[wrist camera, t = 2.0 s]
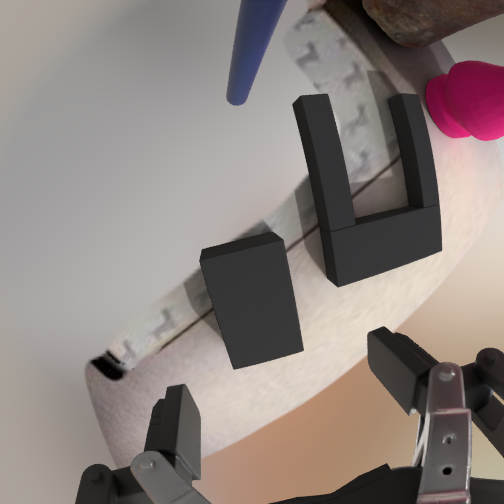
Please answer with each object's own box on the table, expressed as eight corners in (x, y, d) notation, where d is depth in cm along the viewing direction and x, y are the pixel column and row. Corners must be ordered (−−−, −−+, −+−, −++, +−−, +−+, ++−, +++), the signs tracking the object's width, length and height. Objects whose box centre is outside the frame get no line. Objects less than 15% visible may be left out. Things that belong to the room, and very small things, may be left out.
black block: (201, 249, 19) (199, 260, 16) (273, 231, 19) (283, 238, 16) (230, 347, 21) (233, 370, 18) (293, 330, 21) (304, 351, 18)
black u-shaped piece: (291, 104, 17) (300, 95, 15) (404, 99, 18) (418, 94, 16) (327, 279, 20) (337, 288, 18) (427, 246, 21) (442, 251, 19)
